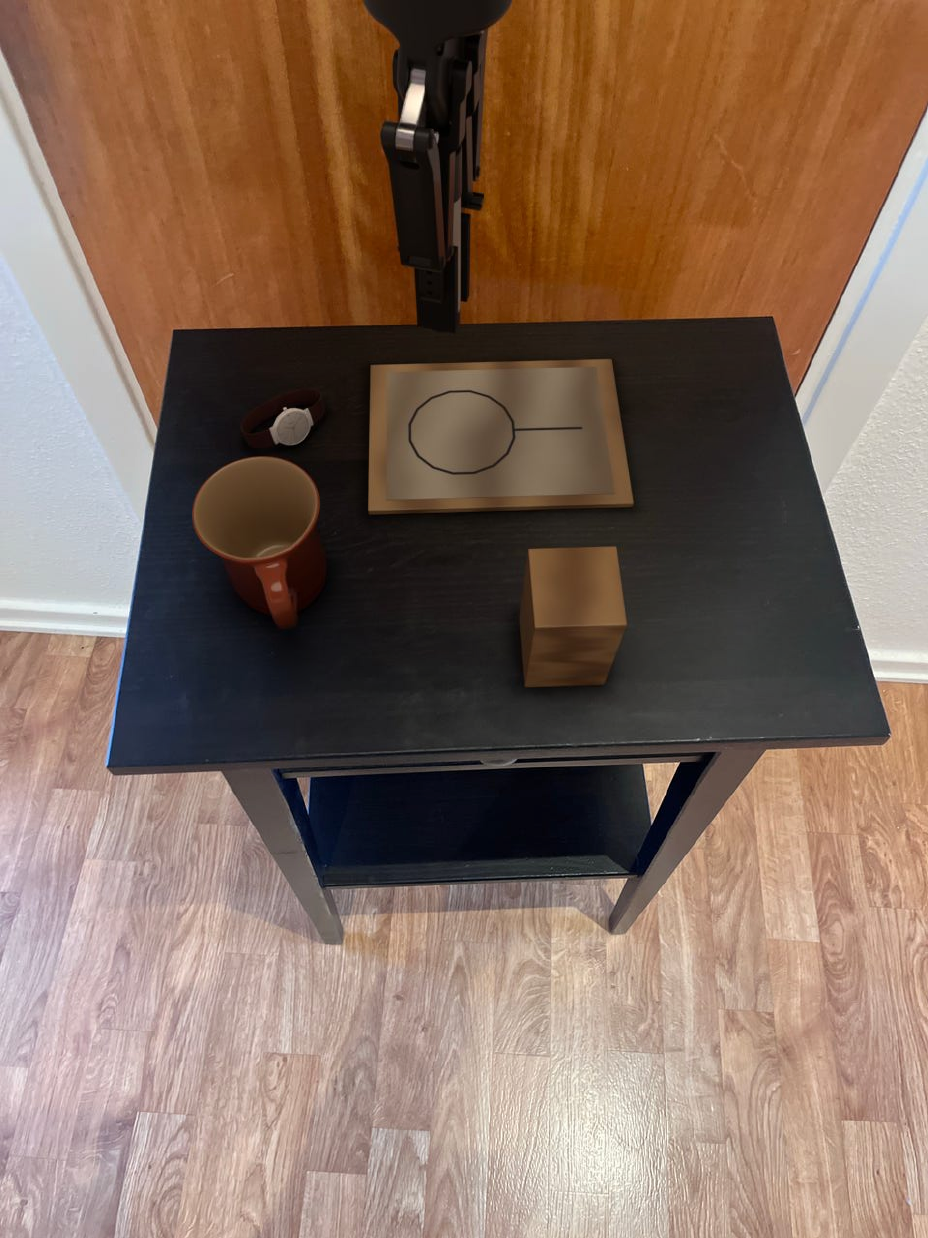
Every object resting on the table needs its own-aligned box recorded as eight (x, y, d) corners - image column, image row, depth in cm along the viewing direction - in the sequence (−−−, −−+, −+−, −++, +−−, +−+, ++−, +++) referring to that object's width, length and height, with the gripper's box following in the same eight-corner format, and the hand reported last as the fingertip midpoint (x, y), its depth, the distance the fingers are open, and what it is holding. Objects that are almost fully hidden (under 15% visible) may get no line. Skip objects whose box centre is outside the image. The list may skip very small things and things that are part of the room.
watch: (260, 465, 74) (251, 438, 70) (234, 430, 75) (224, 402, 72) (337, 425, 76) (332, 396, 72) (310, 391, 77) (303, 362, 74)
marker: (465, 311, 61) (466, 136, 50) (455, 336, 60) (455, 163, 48) (431, 304, 61) (425, 129, 50) (421, 329, 60) (412, 156, 49)
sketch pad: (610, 363, 79) (611, 357, 78) (632, 507, 72) (634, 502, 71) (371, 369, 79) (370, 363, 78) (368, 514, 71) (367, 510, 71)
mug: (219, 548, 70) (183, 471, 61) (325, 523, 71) (305, 443, 62) (244, 679, 64) (209, 616, 55) (358, 649, 66) (342, 583, 56)
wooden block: (595, 614, 67) (616, 545, 58) (604, 685, 64) (627, 624, 55) (519, 616, 67) (528, 548, 58) (524, 687, 64) (534, 627, 55)
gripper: (405, -181, 43) (422, 227, 64) (299, -15, 36) (357, 381, 57) (552, -161, 42) (521, 246, 63) (473, 12, 35) (467, 404, 56)
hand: (443, 309), depth 60 cm, fingers closed on marker, 2 cm apart
